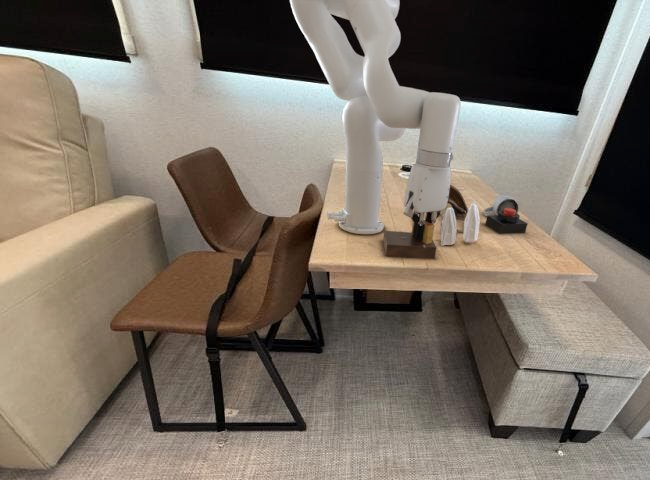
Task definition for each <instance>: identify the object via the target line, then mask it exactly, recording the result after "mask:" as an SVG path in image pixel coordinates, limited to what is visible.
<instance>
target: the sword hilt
mask: <svg viewBox="0 0 650 480" xmlns="http://www.w3.org/2000/svg"><path fill="white" fill-rule="evenodd" d="M451 207H452V208H453V210H454V213H455V217H456V218H461V219H465V218H466V215H467V213H468V210H469V207H468V205H467V203H466V201H465V198H464V196H463V194H462V193H461V192H460V190H459V189H458V188H457V187H456V186H454V185H452V184H450V190H449V196H448V202H447V205H446V211H447V209H448V208H451ZM446 211H445V212H444V213H442V214H440V216H441V220H442V222H443V219H444V216H445V213H446ZM442 222H441V223H440V229H441V228H442ZM456 233H464V229H459V228H457V231H456Z"/></svg>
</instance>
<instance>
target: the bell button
mask: <svg viewBox="0 0 650 480" xmlns="http://www.w3.org/2000/svg"><path fill="white" fill-rule="evenodd" d="M515 213H516V210H514V209H511V208H505V209H504V212H503V214H505V215H508V216H515Z"/></svg>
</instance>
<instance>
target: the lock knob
mask: <svg viewBox="0 0 650 480" xmlns="http://www.w3.org/2000/svg"><path fill="white" fill-rule="evenodd" d="M423 225H424V226H425V227H424V234H423V240H422V242H423V243H425V244H430V243H432V240H433V238H434V232H435V223H434V224H432V223H429V222H427V221H425V219H424V221H423ZM413 229H414V222H413V221H412V227H411V233H412V234H411V235H412V236H413Z"/></svg>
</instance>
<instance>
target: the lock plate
mask: <svg viewBox="0 0 650 480" xmlns="http://www.w3.org/2000/svg"><path fill="white" fill-rule="evenodd" d="M411 234H412V231H411V232H410V231H409V232H408V231H395V230H394V231H393V230H383V237H382V238H383V239H382V243H383V248H384V254H385V257H395V258H396V257H397V258H412V259H413V258H414V259H415V258H416V259H418V258H419V259H434V260H435V258H436V252H437V246H436V243H435V241H437V242H441V239H435V241H434V240H433V239H432V243H430V244H425V243H423V242H422V241H419V240H417V239H415V238H414V237H413V236H412V235H411Z"/></svg>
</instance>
